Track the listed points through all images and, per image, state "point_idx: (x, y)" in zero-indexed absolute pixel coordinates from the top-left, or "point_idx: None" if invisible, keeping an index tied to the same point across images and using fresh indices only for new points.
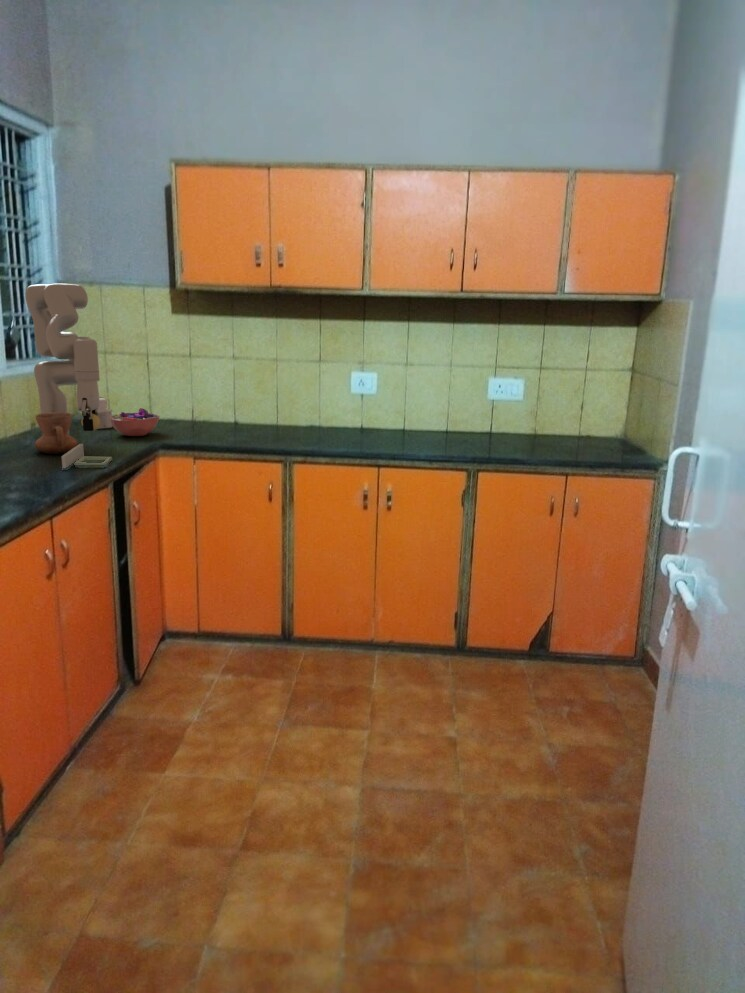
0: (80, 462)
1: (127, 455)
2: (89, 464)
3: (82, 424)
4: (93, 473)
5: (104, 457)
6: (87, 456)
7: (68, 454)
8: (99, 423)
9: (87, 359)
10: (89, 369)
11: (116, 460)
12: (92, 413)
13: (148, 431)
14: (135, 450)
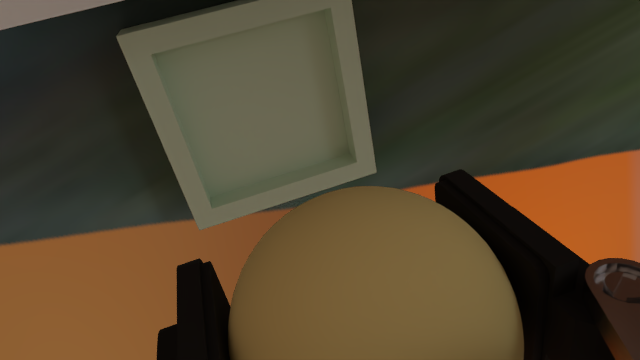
0: (155, 75)
1: (515, 150)
2: (162, 144)
3: (255, 260)
4: (58, 222)
5: (353, 140)
6: (350, 18)
7: (68, 13)
8: None
9: None
10: None
11: (400, 161)
12: (597, 349)
13: None
14: (622, 127)
